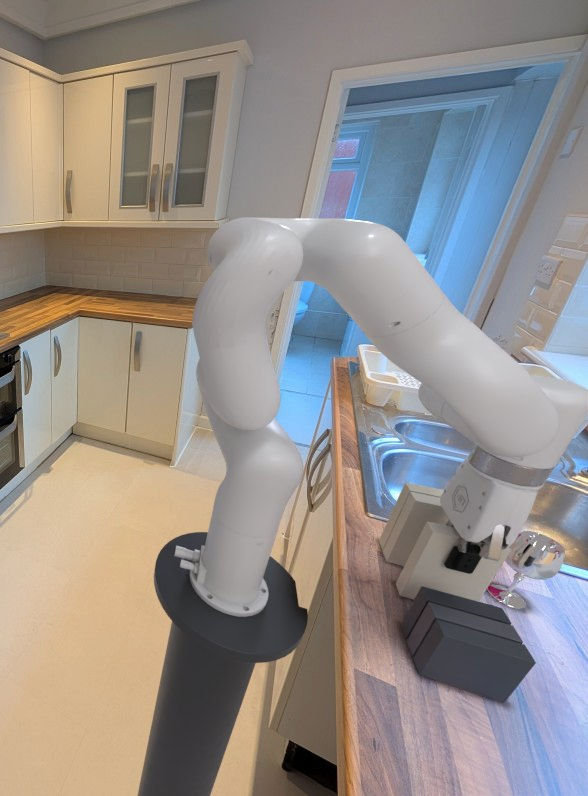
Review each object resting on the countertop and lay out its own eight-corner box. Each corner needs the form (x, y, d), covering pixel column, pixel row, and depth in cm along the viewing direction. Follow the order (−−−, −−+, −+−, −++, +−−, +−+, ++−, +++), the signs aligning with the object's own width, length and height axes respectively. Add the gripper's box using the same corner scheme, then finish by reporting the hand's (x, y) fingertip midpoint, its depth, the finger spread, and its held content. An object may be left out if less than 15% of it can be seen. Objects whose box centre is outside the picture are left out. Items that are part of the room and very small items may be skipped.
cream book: (399, 595, 70) (433, 532, 64) (395, 584, 72) (426, 521, 66) (469, 615, 67) (511, 550, 61) (462, 602, 69) (502, 538, 63)
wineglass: (473, 578, 73) (505, 525, 68) (512, 584, 72) (548, 531, 67) (498, 608, 68) (535, 553, 63) (541, 615, 67) (583, 560, 61)
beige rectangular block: (386, 561, 76) (415, 500, 70) (378, 541, 81) (405, 481, 75) (449, 578, 73) (486, 515, 67) (437, 555, 77) (470, 495, 71)
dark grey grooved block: (418, 675, 59) (443, 635, 55) (400, 624, 65) (421, 585, 62) (504, 703, 55) (536, 663, 52) (475, 647, 62) (502, 607, 58)
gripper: (448, 429, 66) (405, 520, 74) (502, 492, 52) (443, 595, 60) (512, 440, 63) (460, 533, 71) (586, 509, 50) (512, 614, 58)
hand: (453, 560), depth 66 cm, fingers closed on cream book, 2 cm apart
